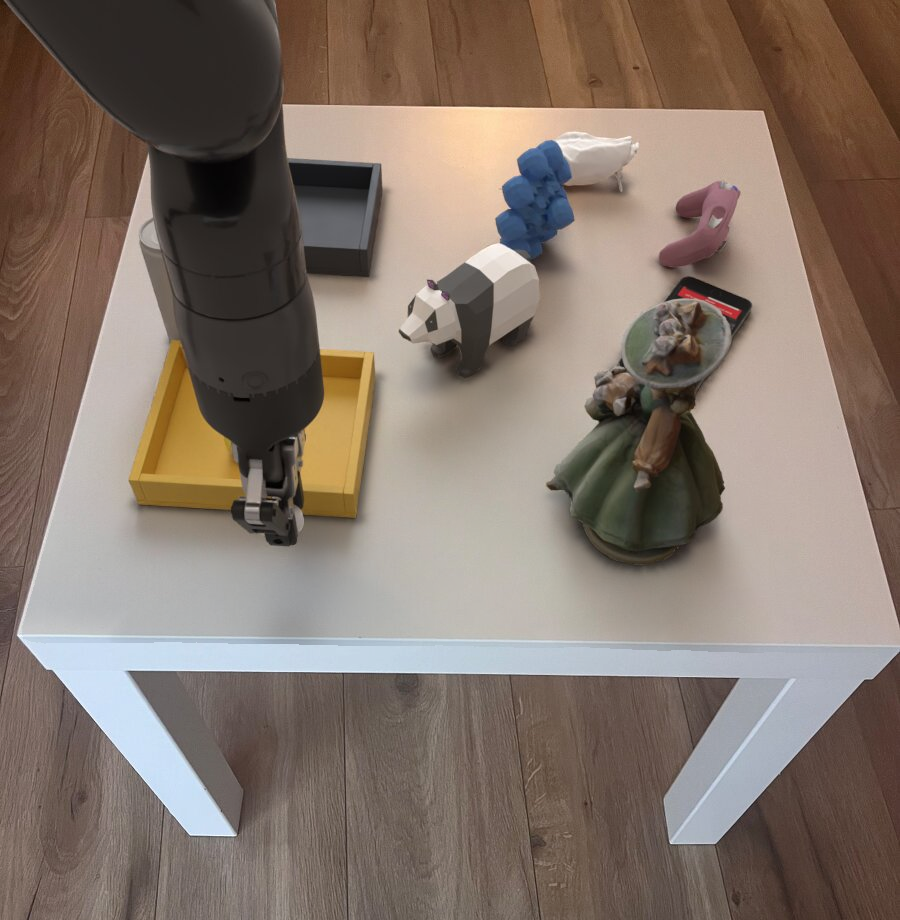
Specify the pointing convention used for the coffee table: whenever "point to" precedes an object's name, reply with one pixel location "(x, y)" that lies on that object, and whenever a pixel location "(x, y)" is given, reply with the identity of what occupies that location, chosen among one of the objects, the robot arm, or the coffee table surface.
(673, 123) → the coffee table surface
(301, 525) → the chess pawn
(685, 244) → the video game controller
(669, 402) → the figurine
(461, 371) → the giant panda
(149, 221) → the beverage can
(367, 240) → the charcoal tray
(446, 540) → the coffee table surface
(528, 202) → the grapes
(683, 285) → the smartphone
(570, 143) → the bird figurine
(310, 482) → the yellow tray
